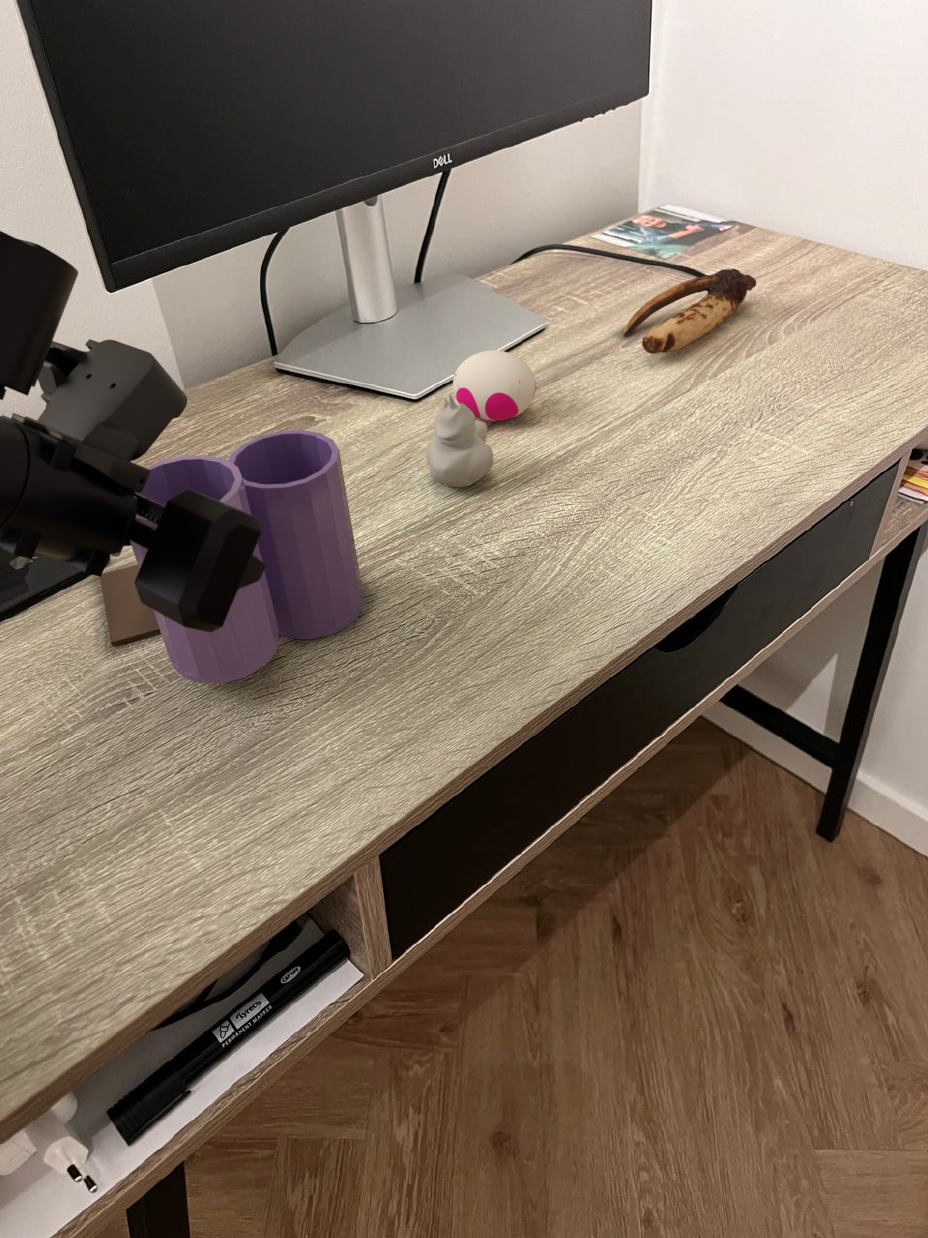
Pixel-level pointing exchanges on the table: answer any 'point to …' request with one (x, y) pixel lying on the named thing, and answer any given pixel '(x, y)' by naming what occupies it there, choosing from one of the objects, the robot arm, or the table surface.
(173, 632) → the tumbler
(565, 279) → the table surface
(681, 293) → the lashed bone hook
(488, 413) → the stress ball
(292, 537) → the tumbler
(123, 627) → the coaster
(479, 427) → the rubber duck
